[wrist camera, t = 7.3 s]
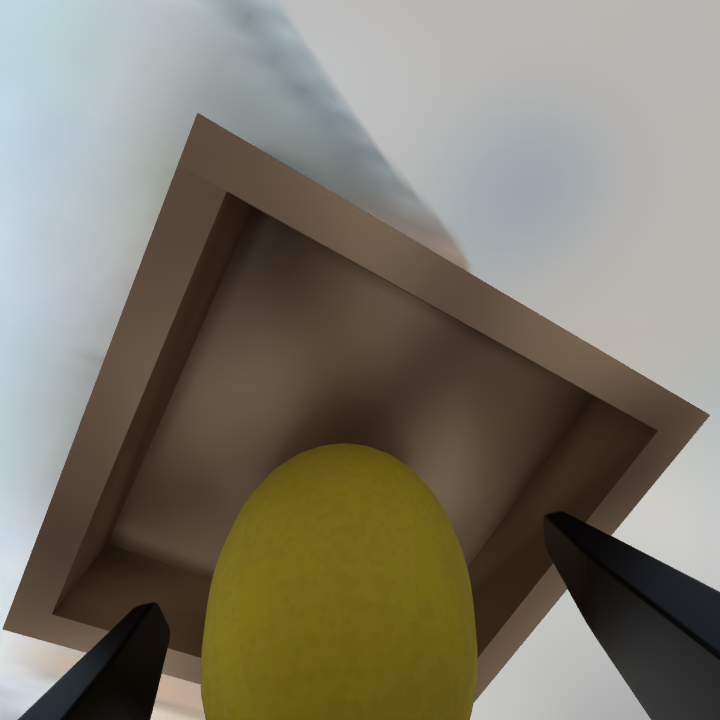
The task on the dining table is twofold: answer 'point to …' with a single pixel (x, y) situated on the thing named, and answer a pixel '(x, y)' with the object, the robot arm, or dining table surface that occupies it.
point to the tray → (326, 407)
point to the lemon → (340, 598)
